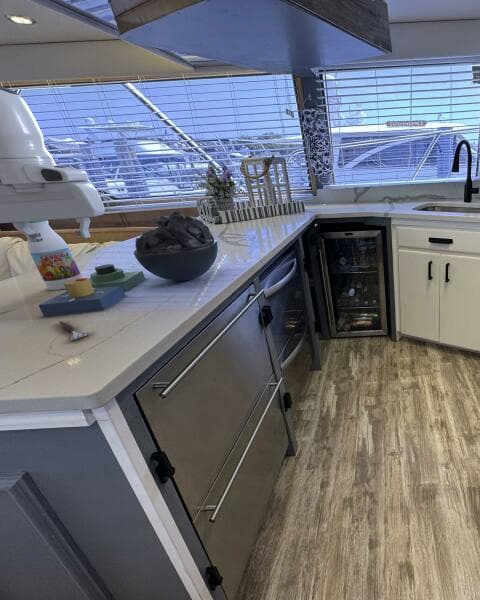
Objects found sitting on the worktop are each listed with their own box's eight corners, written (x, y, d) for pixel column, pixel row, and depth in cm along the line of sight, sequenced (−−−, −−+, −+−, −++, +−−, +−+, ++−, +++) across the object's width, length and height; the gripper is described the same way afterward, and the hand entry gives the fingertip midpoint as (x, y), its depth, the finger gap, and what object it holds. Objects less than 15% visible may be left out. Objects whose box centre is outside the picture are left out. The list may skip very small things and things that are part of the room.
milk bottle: (41, 289, 91) (4, 218, 83) (73, 280, 98) (42, 213, 90) (59, 291, 89) (22, 218, 81) (91, 282, 95) (60, 213, 88)
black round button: (94, 276, 87) (91, 269, 86) (103, 272, 90) (100, 265, 89) (110, 274, 87) (107, 267, 86) (119, 270, 91) (116, 263, 90)
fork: (69, 321, 70) (65, 313, 70) (93, 339, 62) (89, 330, 61) (53, 326, 68) (48, 317, 68) (76, 345, 60) (71, 336, 59)
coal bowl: (192, 292, 84) (169, 219, 77) (127, 290, 87) (99, 220, 80) (239, 268, 102) (224, 208, 95) (183, 268, 105) (165, 209, 98)
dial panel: (44, 316, 73) (37, 304, 72) (72, 301, 81) (66, 290, 80) (104, 310, 75) (98, 298, 74) (125, 296, 83) (121, 284, 82)
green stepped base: (75, 296, 85) (68, 280, 83) (100, 283, 94) (93, 269, 92) (127, 291, 87) (120, 275, 85) (145, 279, 96) (140, 264, 94)
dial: (65, 298, 75) (57, 283, 73) (78, 292, 78) (71, 277, 77) (86, 296, 75) (79, 281, 74) (98, 290, 79) (92, 275, 78)
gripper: (-47, 177, 62) (-7, 247, 68) (74, 171, 66) (102, 238, 71) (-15, 176, 68) (18, 241, 74) (94, 171, 72) (119, 233, 77)
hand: (61, 239), depth 72 cm, fingers open, 8 cm apart
